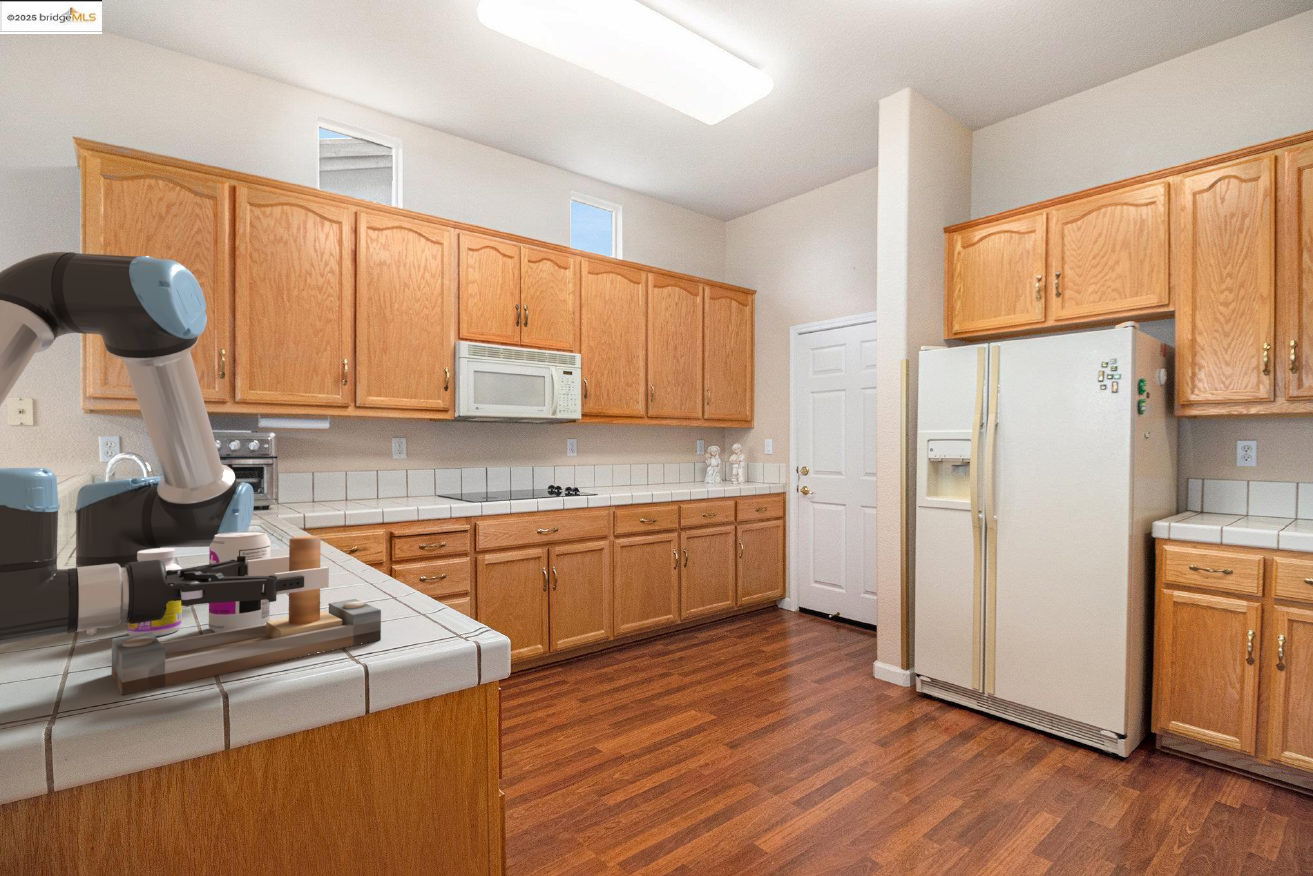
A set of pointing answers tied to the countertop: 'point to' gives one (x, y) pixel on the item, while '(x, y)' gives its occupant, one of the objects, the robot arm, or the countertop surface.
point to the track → (232, 649)
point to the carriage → (303, 594)
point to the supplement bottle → (173, 608)
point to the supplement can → (253, 548)
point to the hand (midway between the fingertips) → (311, 570)
